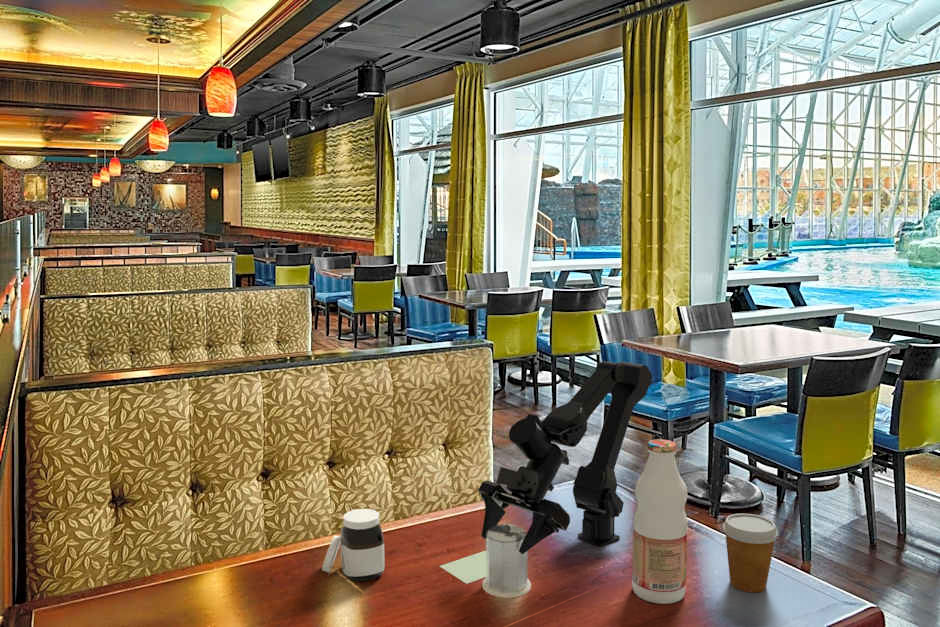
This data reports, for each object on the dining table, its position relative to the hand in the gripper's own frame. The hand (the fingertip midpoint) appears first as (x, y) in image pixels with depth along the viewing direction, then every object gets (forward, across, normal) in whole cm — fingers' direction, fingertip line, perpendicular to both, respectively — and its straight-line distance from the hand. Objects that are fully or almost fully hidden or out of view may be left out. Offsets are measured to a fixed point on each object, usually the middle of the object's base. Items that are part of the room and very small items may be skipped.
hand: (501, 545), depth 137 cm
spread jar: (+17, -25, -4) cm, 31 cm away
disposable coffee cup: (-17, +32, +29) cm, 47 cm away
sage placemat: (+3, -9, +9) cm, 13 cm away
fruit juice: (-7, +21, +20) cm, 30 cm away
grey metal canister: (+5, 0, +7) cm, 8 cm away
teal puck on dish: (+5, 0, +7) cm, 9 cm away
